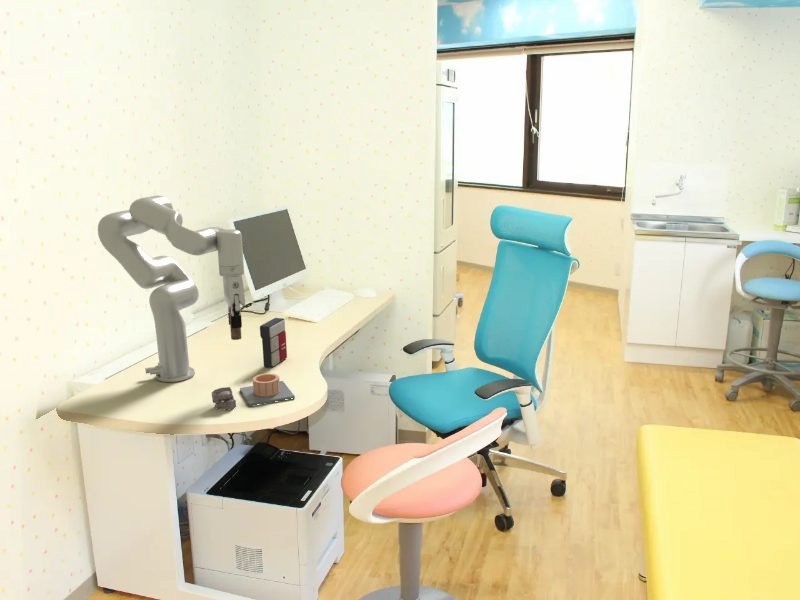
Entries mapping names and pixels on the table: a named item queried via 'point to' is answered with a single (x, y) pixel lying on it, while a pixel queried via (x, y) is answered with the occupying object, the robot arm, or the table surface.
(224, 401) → the dental mold
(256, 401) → the board
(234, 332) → the wooden capsule dowel
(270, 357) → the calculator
